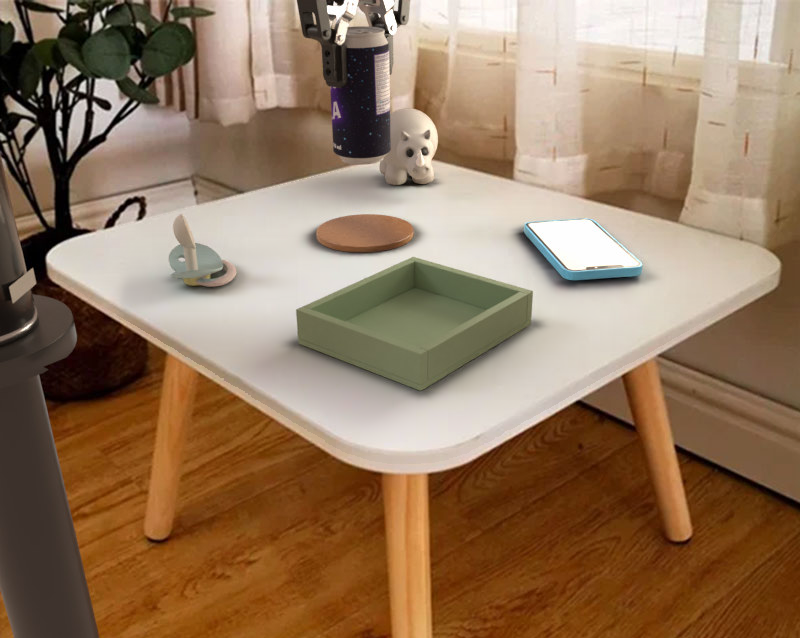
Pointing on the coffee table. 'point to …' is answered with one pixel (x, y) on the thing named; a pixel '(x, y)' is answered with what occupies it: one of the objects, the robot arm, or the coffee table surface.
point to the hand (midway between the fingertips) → (359, 80)
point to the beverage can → (363, 99)
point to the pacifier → (196, 259)
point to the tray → (414, 321)
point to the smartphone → (582, 249)
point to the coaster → (364, 233)
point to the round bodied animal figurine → (410, 148)
